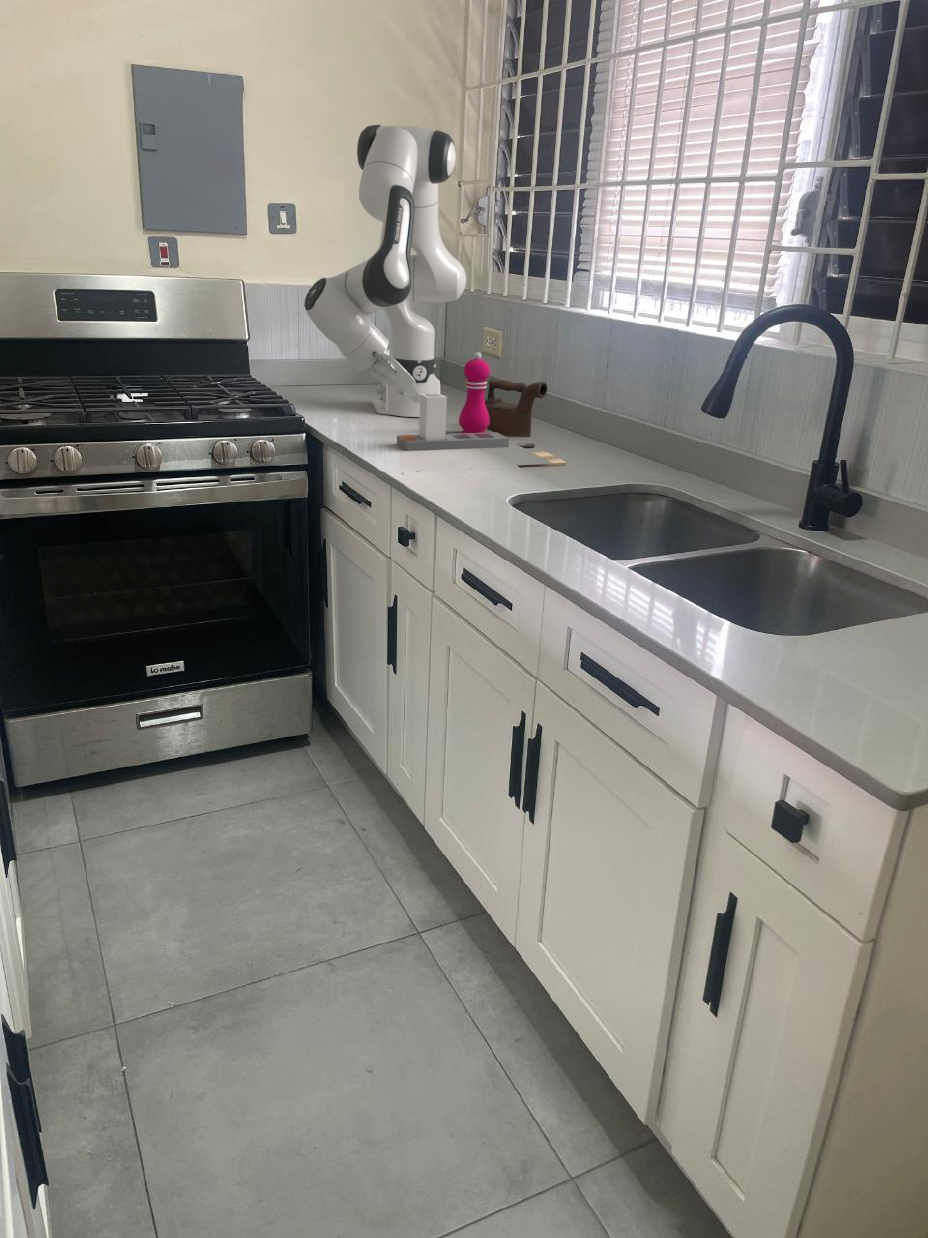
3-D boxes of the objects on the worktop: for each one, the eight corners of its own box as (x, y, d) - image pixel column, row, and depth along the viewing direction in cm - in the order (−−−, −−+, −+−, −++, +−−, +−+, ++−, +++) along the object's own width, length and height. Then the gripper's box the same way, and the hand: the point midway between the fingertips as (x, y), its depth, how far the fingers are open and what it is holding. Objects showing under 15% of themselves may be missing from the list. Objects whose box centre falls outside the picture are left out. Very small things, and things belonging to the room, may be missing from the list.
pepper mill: (485, 444, 216) (490, 355, 208) (455, 441, 217) (459, 352, 209) (491, 437, 223) (496, 351, 215) (461, 435, 224) (465, 349, 216)
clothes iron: (529, 441, 222) (533, 383, 216) (476, 430, 231) (479, 374, 225) (548, 436, 227) (552, 380, 222) (496, 426, 237) (499, 371, 231)
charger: (418, 444, 207) (420, 392, 203) (437, 443, 209) (439, 392, 204) (425, 448, 203) (427, 396, 199) (444, 447, 205) (446, 396, 200)
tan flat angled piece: (499, 455, 206) (499, 452, 205) (544, 453, 210) (544, 450, 209) (520, 467, 196) (520, 464, 196) (566, 465, 200) (566, 462, 200)
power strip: (396, 449, 207) (396, 432, 206) (527, 443, 218) (528, 428, 217) (406, 456, 201) (406, 439, 200) (540, 450, 212) (541, 434, 211)
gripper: (393, 344, 184) (438, 394, 191) (365, 332, 201) (407, 378, 209) (371, 368, 184) (416, 416, 191) (345, 354, 202) (387, 399, 209)
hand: (411, 396), depth 200 cm, fingers open, 8 cm apart
